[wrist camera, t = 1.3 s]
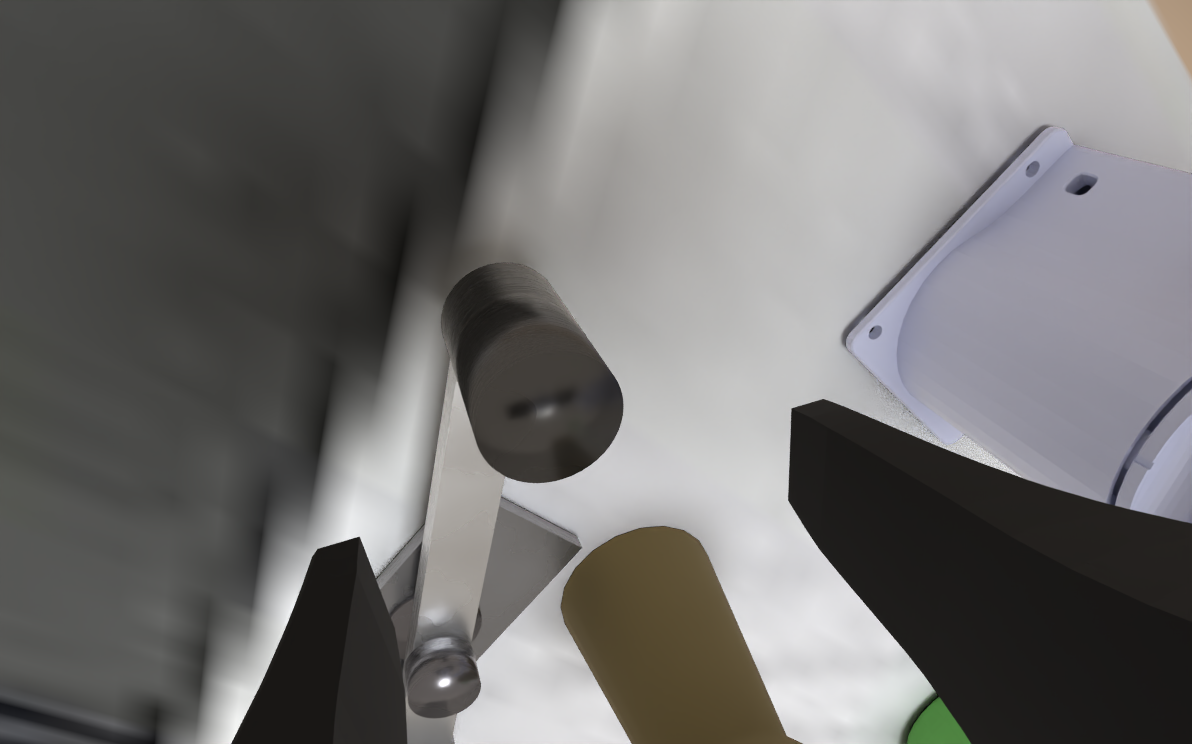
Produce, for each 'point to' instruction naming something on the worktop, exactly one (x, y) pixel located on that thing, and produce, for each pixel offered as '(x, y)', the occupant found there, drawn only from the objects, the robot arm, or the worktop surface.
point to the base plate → (488, 574)
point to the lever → (494, 463)
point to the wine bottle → (936, 727)
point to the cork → (667, 643)
